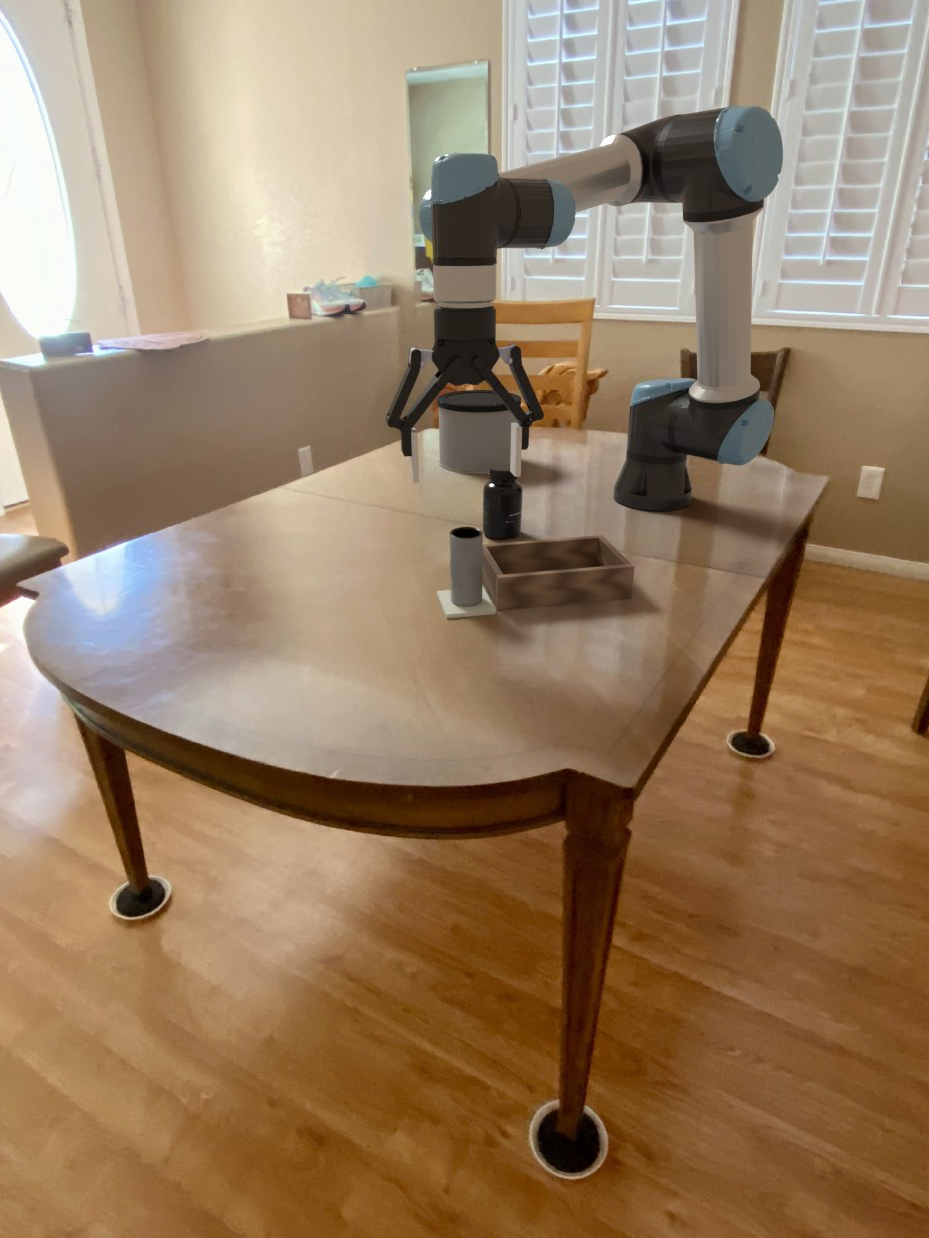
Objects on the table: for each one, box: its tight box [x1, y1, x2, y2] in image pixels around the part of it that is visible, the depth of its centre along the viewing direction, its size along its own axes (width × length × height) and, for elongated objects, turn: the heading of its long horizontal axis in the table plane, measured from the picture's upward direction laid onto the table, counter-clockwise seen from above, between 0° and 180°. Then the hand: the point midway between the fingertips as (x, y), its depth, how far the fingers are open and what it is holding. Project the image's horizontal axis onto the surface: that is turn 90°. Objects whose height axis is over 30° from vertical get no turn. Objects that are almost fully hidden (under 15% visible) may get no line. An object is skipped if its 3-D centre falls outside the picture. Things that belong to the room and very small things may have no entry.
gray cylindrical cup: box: [449, 526, 484, 606], centre depth 107 cm, size 4×4×10 cm
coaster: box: [436, 586, 497, 619], centre depth 109 cm, size 7×8×1 cm
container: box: [436, 389, 522, 475], centre depth 174 cm, size 19×19×15 cm
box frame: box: [482, 534, 635, 611], centre depth 114 cm, size 20×13×5 cm, turn 101°
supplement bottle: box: [482, 464, 524, 541], centre depth 133 cm, size 7×7×12 cm
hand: (465, 477), depth 101 cm, fingers open, 13 cm apart
